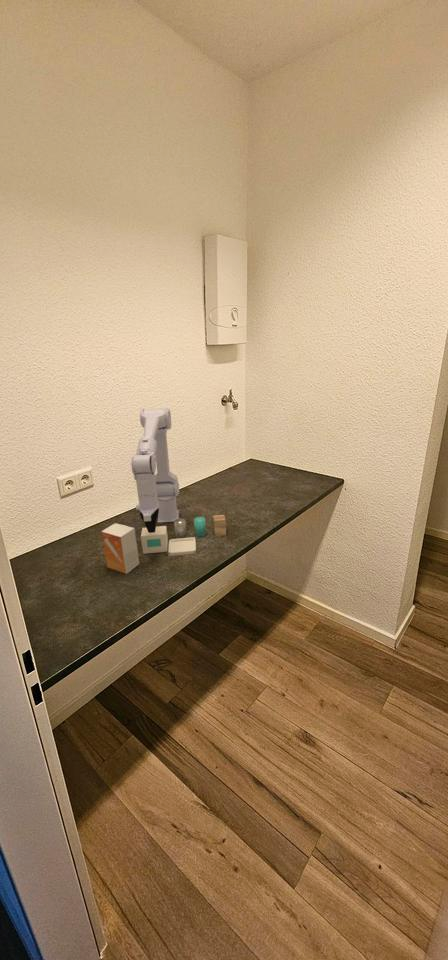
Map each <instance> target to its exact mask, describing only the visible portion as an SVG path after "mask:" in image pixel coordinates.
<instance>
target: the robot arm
mask: <svg viewBox="0 0 448 960" xmlns="http://www.w3.org/2000/svg"><path fill="white" fill-rule="evenodd" d="M139 421H140V424H141V426H142V428H143V437H140V438H139V440H138V444H137V447H136V453H135V455H134V456H132V457H131V462H130V464H131V465H130V466H131V471H132V474H133V479H134V481H135V483H136V489H137V497H138V504H137V505H135V510H139V511H140V513H139V517H140V519H141V520H142V521H143V523H144V524H145V528H147V530H148V532H149V533H154V532H155V530H156V527H157V523H158V524H160V523H174V520H176V519H179V518H180V516H179V513H180V511H179V509H178V506H177V498H176V497H179V494H180V483H179V480H178V479H179V478H178V476H177V475H176V474H175V473H172V472H171V471H170V460H169V450H168V449H169V448H168V440H167V439H168V438H167V434H168V433H167V432H168V431H169V430H171V429H172V415H171V410H170V409H169V408H168V407H164V408H142V409H141V410H140V412H139ZM156 472H157V473H156Z"/></svg>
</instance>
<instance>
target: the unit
mask: <svg viewBox="0 0 448 960" xmlns="http://www.w3.org/2000/svg"><path fill="white" fill-rule="evenodd" d="M140 539H141V540H140V541H141V548H142V554H156V553H168V550H169V539H168V530H167V525H162V526H161V525H159V526H156V530H155V532H154V533H149V532H148V530H147V528H146V527H142V530H141V534H140Z"/></svg>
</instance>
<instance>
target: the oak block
mask: <svg viewBox="0 0 448 960" xmlns="http://www.w3.org/2000/svg"><path fill="white" fill-rule="evenodd" d="M212 517H213V532H214V536H215V537H218V536H219V537H220V536H227V526H226V525H227V524H226V523H227V522H226V516H225V514H219V515H217V514H216V515H213V516H212Z"/></svg>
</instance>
